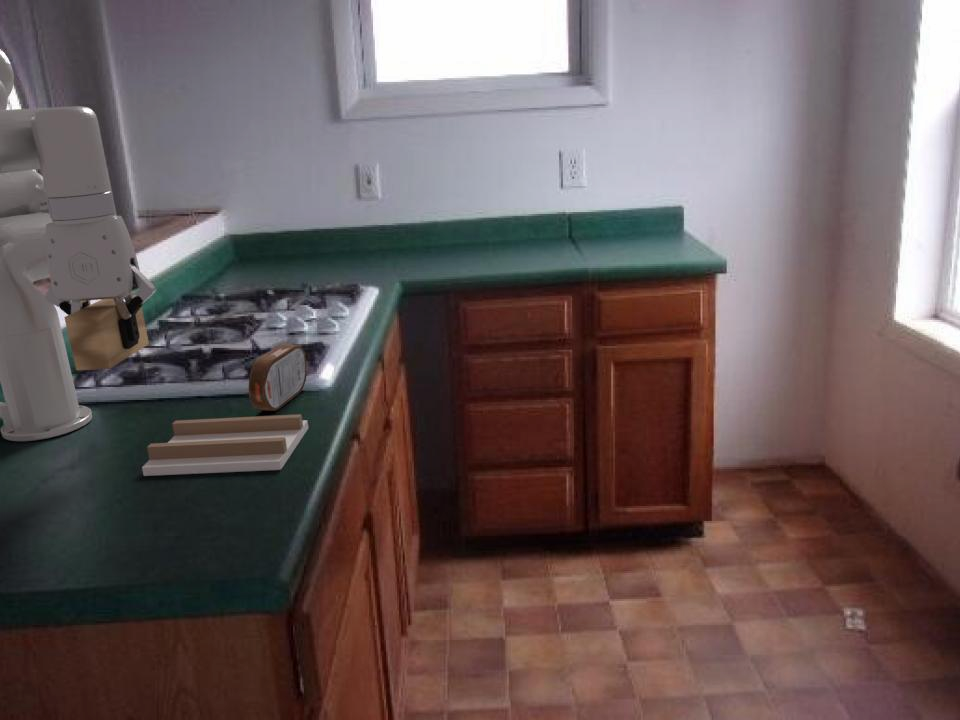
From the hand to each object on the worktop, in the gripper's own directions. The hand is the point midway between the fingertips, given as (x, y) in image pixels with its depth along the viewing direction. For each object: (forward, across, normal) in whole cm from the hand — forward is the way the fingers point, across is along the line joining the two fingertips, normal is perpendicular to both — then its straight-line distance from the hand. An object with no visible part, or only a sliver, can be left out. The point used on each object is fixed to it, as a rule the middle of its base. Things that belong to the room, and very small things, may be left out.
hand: (111, 345), depth 114 cm
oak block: (+1, 0, 0) cm, 1 cm away
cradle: (+15, +14, -1) cm, 21 cm away
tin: (+16, +16, +18) cm, 29 cm away
